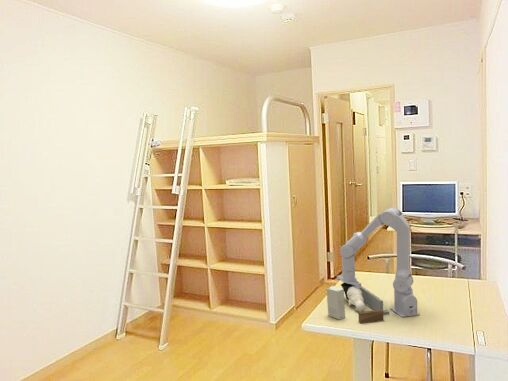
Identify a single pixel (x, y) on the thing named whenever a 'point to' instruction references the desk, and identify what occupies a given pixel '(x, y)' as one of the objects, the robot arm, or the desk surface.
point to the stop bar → (371, 316)
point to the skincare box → (335, 302)
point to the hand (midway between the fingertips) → (349, 299)
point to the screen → (372, 300)
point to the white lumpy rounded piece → (356, 298)
